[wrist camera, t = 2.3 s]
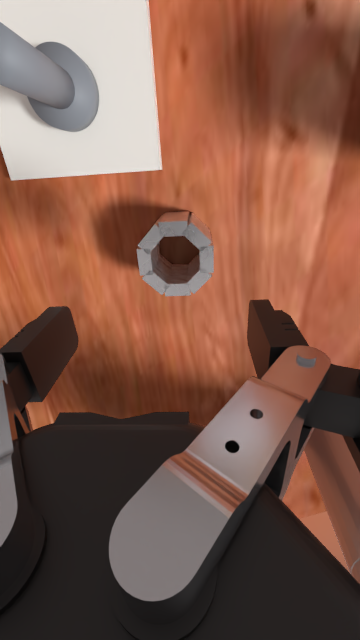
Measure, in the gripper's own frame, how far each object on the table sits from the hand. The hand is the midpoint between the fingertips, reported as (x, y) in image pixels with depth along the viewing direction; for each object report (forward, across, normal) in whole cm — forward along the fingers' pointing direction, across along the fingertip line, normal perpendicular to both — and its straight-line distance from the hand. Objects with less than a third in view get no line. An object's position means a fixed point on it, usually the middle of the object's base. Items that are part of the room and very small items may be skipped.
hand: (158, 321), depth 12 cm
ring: (+14, 0, 0) cm, 14 cm away
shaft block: (+14, +7, -11) cm, 19 cm away
